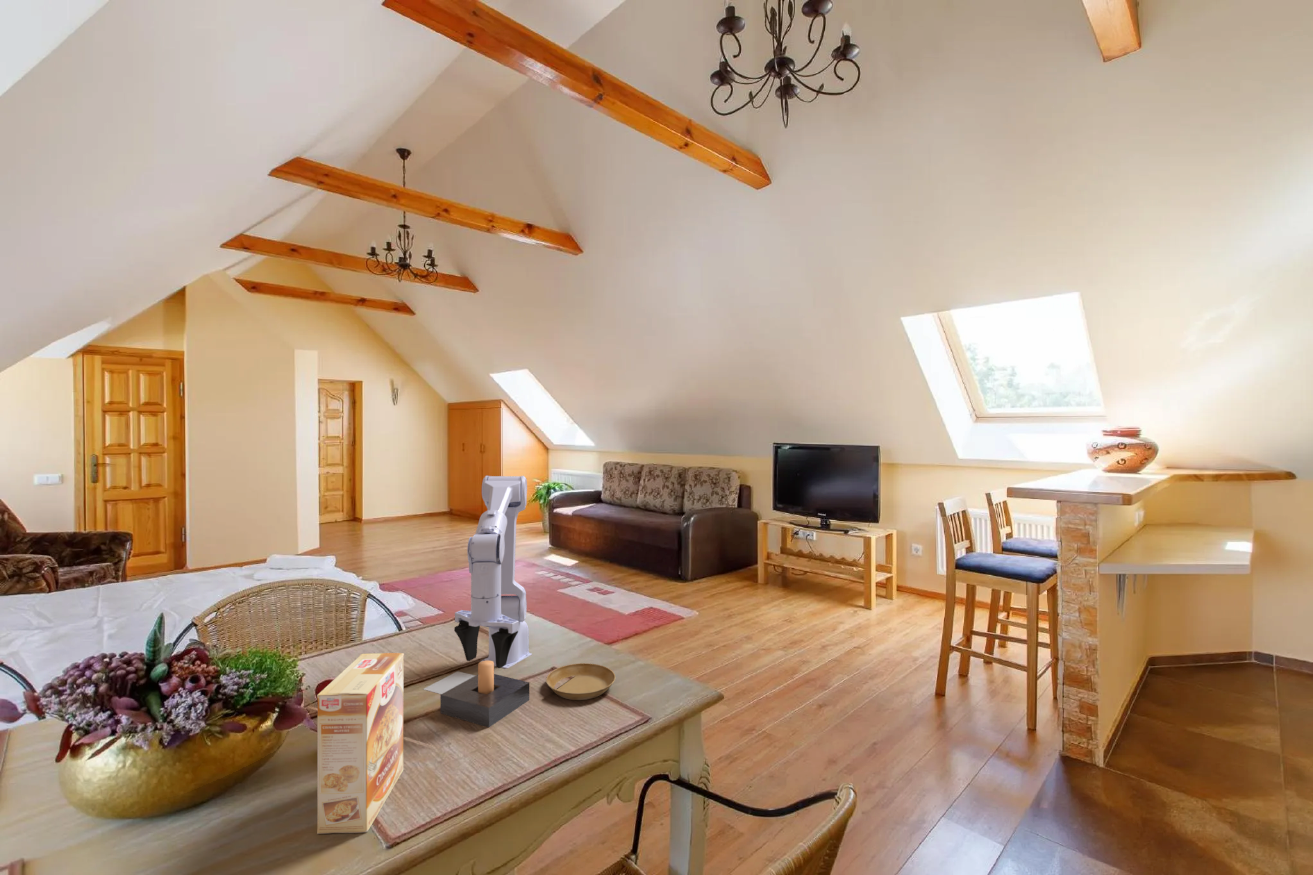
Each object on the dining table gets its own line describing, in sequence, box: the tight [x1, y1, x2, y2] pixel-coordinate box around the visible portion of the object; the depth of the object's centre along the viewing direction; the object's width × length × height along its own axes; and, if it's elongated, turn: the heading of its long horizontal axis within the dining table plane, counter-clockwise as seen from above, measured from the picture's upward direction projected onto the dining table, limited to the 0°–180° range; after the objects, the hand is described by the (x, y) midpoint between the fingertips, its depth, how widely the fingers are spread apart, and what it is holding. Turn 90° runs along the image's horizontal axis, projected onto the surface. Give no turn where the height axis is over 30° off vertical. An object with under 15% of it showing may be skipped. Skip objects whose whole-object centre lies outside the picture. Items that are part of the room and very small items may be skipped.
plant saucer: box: [545, 662, 616, 701], centre depth 126 cm, size 15×15×3 cm
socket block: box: [439, 673, 530, 728], centre depth 117 cm, size 12×12×4 cm
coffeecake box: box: [316, 652, 405, 835], centre depth 88 cm, size 15×7×20 cm, turn 4°
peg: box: [477, 660, 495, 695], centre depth 117 cm, size 3×3×9 cm
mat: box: [422, 671, 476, 695], centre depth 127 cm, size 10×10×1 cm
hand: (486, 662), depth 117 cm, fingers open, 7 cm apart
